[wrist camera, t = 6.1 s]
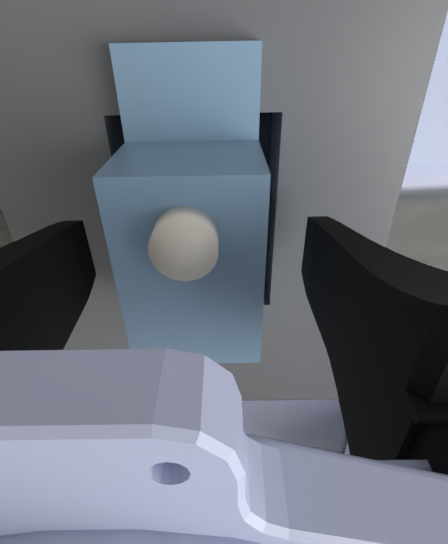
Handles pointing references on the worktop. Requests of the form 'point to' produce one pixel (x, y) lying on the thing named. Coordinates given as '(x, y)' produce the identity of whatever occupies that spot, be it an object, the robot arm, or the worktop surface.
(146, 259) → the block
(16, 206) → the mounting plate
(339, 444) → the worktop surface
